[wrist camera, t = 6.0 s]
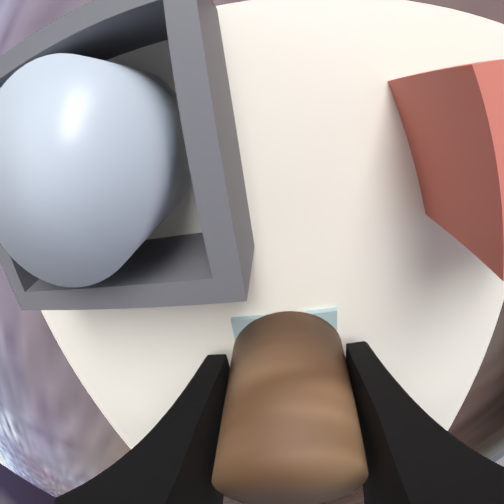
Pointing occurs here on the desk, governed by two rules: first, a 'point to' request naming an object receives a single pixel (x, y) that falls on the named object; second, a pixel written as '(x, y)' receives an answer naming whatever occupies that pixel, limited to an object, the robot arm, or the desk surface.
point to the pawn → (289, 416)
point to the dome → (86, 165)
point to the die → (459, 151)
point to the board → (276, 198)
